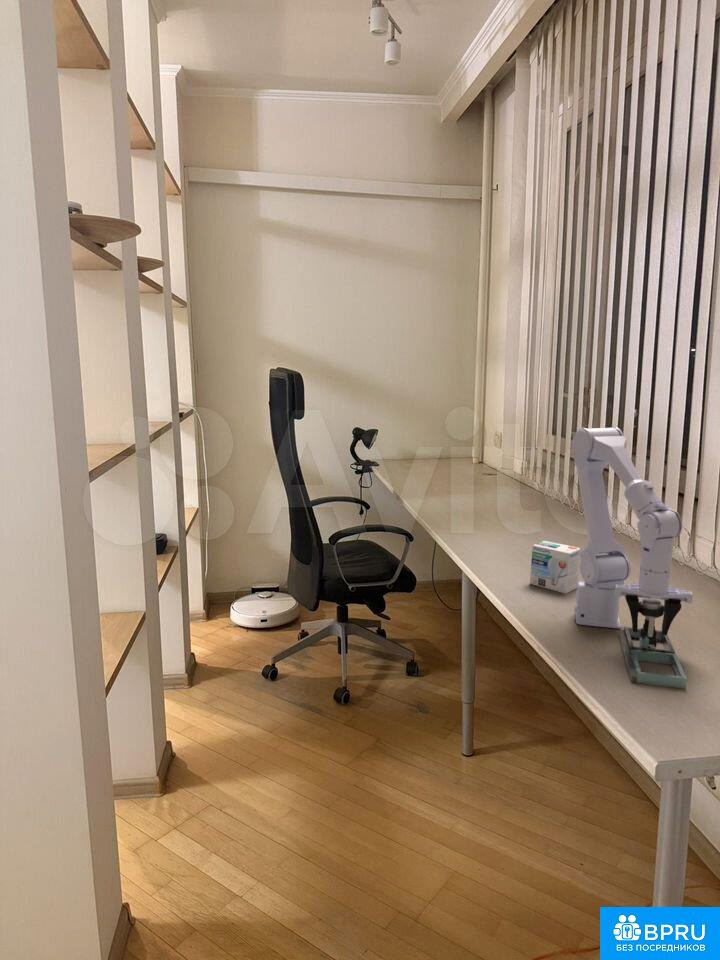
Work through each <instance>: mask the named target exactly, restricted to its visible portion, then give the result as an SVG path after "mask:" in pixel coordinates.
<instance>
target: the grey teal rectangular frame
mask: <svg viewBox="0 0 720 960" xmlns="http://www.w3.org/2000/svg"><path fill="white" fill-rule="evenodd" d="M655 630H656V631H657V634H656V639H657V642H658V641H659V642H662V643H663V647H664V649H660V648H654V649H652V648H643V646H634V643H633V640H632V639H639V640H640V638H641V636H640V633H641V627H640V628H639V627H638V629H637V632H633V629H632V627H628V626H624V627H623V629H618V638H619V643H620V646H621V649H622V653H623V657H624V661H625V665H626V669H627V671H628V676H629V680H630V683H635V684H641V685H642V684H643V685H650V686H660V687H667V688H676V689H683V690H686V689H687V682H688V679H687V676H686V673H685V671H684V669H683V667H682V664H681V662H680V660H679V657H678V655H677V653H676V651H675V648H674V647H673V644H672V642H671V640H670V636H669V635H668V634H667V635H663V633H662V630H657V629H655ZM639 661H640V662H646V663H647V662H648V663H655V664H657V663H658V664H663V665H664V664H665V665H671V666H672V669H673V671H674V674H675V675H674V674H664V673H654V672H646V671H642V670H641V666H640V664H639Z"/></svg>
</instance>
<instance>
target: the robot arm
mask: <svg viewBox="0 0 720 960" xmlns="http://www.w3.org/2000/svg"><path fill="white" fill-rule="evenodd" d="M571 448H572V453H573V454H572V455H573V460H574V465H575V467H576V475H577V478H578V484H579V489H580V490H579V491H580V496H581V503H582V507H583V508H582V509H583V514H584V520H585V526H586V531H587V537H588V538H587V539H588V543H587V544H586V545H585V547H583V548H582V549H581V552H580V566H579V574H580V575H581V578H582V579H583V581H578V584H577V588H576V596H575V597H576V598H575V604H574V609H573V610H574V615H575V622H576V625H581V626H589V627H590V626H592V627H598V628H599V627H600V628H601V627H602V628H609V629H610V628H611V629H617V630H622V625H621V621H620V617H619V613H620V612H619V611H620V600H621V597H622V596H623V597H624V598H625V601H626V604H627V606H628V610H629V613H630V617H631V628H632V629H633V632H637V629H638V628H639V627H638V621H639V619H638V618H639V606H640V604H639V602H640V601H639V600H640V599H639V598H642V599H645V598H651V599H656V600H662V601H663V600H664V603H663V606H665V611H664V614H663V618H662V623H661V624H662V625H661V631H662V633H663V635H668V632H669V630H670V627H671V625H672V623H673V621H674V619H675V618H676V616H677V615H678V613H679V612H680V611H681V609H682V602H685V603H686V604H693V596H694V595H693V592H692V591H691V590H684V589H683V590H682V589H677V588H672V587H670V581H671V570H672V564H673V563H672V560H673V553H674V543H675V538H677V537H679V536H680V534H681V533H682V529H683V522H682V519H681V516H680V515H679V512H678V511H677V510H675V509H673V508H670V507H669V505H668V506H667V505H665V503H664V502H663V500H662V499H661V497H660V495H659V493H657V491H656V489H655V487H654V485H653V483H651V482H650V481H649V480H645V479H642V478H641V476H640V475H639V472H638V470H637V468H636V467H635V465H634V463H633V461H632V459H631V457H630V455H629V454H628V451H627V450H626V448H627V438H626V437H625V436H624V433H623V432H622V430H621V429H620V428H619V427H617V426H612V427H599V428H598V427H597V428H596V427H594V428H592V427H591V428H585V427H581V428H578V429H577V430H576V432H575V433H574V435H573V438H572V439H571ZM608 465H609V466H610V468H611V469H612V471H613V472H614V474H616V476H617V477H618V479H619V480H620V482H621V483H622V484H623V485H624V487H625V490H624V494H623V495H624V498H625V499H626V501H627V502H628V504H629V506H630V507H631V509H632V510H633V513H634V514H635V515H636V517H637V519H638V520H639V521H638V522H637V524H636V525H637V532H638V534H639V537H640V538H639V539H640V540H639V543H640V546H641V554H640V557H641V558H640V567H639V576H638V577H639V578H638V584H625V581H626V580H628V579H629V578H630V575H631V572H632V571H631V570H632V569H631V568H632V567H631V566H632V565H631V561H630V560H629V558H628V556H627V555H626V549H625V547H624V546H623V544H620V543H619V542H618V541H617V540H615V538H614V532H613V528H612V523H611V522H612V521H611V515H610V510H609V504H608V499H607V498H608V497H607V493H606V488H605V487H606V486H605V481H604V475H603V471H604V469H605V468H606V466H608Z"/></svg>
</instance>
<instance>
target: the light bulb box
mask: <svg viewBox="0 0 720 960" xmlns="http://www.w3.org/2000/svg"><path fill="white" fill-rule="evenodd" d="M531 551H532V552H531V563H530V574H529V575H530V579H529V584H530V585H534V586H537V587H541V588H543V589H544V588H545V589H547V590H548V589H549V590H552V591H555V592H559V593H562V594H566V595H567V594H568V593H570V592H572V591H574V590H577V584H578V582H579V575H580V563H581V556H580V552H581V551H582V549H581V548H580V547H577V546H572V545H567V544H564V543H563V544H562V543H558V542H553V541H549V540H543V541H540V542H537V543H536V544H535V543H534V544H533V545H532V550H531Z"/></svg>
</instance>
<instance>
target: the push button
mask: <svg viewBox="0 0 720 960" xmlns="http://www.w3.org/2000/svg"><path fill="white" fill-rule="evenodd" d="M639 604H640V606H639V612H638V614H639V613H640V614H641V615H642V616H643V617H645V618H644V623H643V624H642V628H641V627H640V629H641V633H640V636H641V638H640V639H639V642H638V645H639V647H643V648H652V649H655V648H657V645H658V640H657V639H656V634H657V631H656V630H657V629H656V627H655V622H656V619H659V618H660V617H662V616H663V617H664V611H665V606H664V604H662V601H660V599H651V598H642V601H639Z"/></svg>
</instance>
